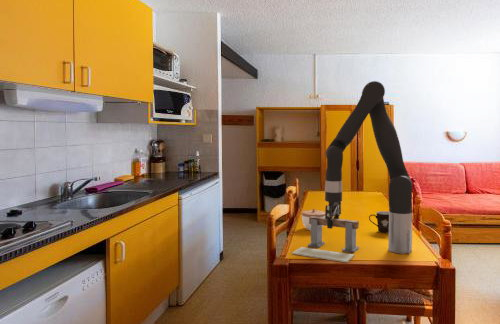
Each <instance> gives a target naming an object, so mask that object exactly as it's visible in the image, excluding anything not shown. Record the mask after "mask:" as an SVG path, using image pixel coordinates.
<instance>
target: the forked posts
mask: <svg viewBox="0 0 500 324" xmlns="http://www.w3.org/2000/svg"><path fill="white" fill-rule="evenodd" d="M344 229H345V234H344V238H345V240H344V243H345V244H344V247H343V248H342V249H341V250H342V251H341V253H348V254H354V253H356V252H357V251H358V250H359V248H360V247H359V246H357V229H353V223H345V228H344ZM324 245H325V241H323V227H322V225H318V220H317V219H311V231H310V243H308V244H307V248H314V247H315V248H314V249H319V248H321V247H322V246H324Z"/></svg>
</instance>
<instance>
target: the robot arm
mask: <svg viewBox="0 0 500 324" xmlns="http://www.w3.org/2000/svg"><path fill="white" fill-rule="evenodd" d="M385 94H386V89H385V86H384V85H383V84H382V82H380V81H377V80H374V81H369V82H368V83H366V84H365V86H364V87H363V89H362V91H361V96H360V97H359V98H360V99H359V100H358V102H357V104H356V106H355V108H354V109H353V111H351V113H350V114H349V116H348V117H347V119H345V122H344V123H343V125H342V126H341V128H339V131H338V132H337V134H336V136H335V137H334V138H333V140H332V141H331V143H330V144H329V145H328V147H327V148H326V150H325V157H326V170H325V184H324V201H325V202H327V203H328V205H327V204H326V205H325V208H324V209H325V211H324V212H325V219H327V229H333V228H334V227H333V218H334V219H340V215H342V201H343V176H342V175H343V173H342V172H343V171H342V169H343V161H344V152H345V149H346V148H347V147H348V146H349V145H350V144H351V143H352V141H353V140H354V139H355V137H356V136H357V134H358V132H359V130H360V128H361V127H362V125H363V124H364V122H365V120H366V119H367V117H368V115H369V118H370V122H371V127H372V131H373V134H374V139H375V142H376V145H377V148H378V152H379V153H380V155H381V157H382V159H383V161H384V163H385V166H386V168H387V172H388V173H387V174H388V177H389V184H388V212H389V233H388V243H387V245H388V251H389V252H391V253H395V254H402V255H403V254H405V253H408V255H409V254H411V252H412V251H413V229H412V218H413V217H412V215H413V214H412V211H413V208H412V207H413V202H412V201H413V200H412V199H413V198H412V197H413V181H412V179H411V177H410V175H409V173H408V170H407V168H406V166H405V162H404V157H403V152H402V147H401V144H400V140H399V137H398V132H397V129H396V127H395V125H394V123H393V121H392V120H391V118H390V115H389V114H388V111H387V109H386V105H385V99H384V97H385ZM411 250H412V251H411Z"/></svg>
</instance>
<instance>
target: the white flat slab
mask: <svg viewBox="0 0 500 324" xmlns="http://www.w3.org/2000/svg"><path fill="white" fill-rule="evenodd" d="M291 254H292V255H295V256H297V255H298V256H303V257H311V258H316V259H322V260H328V261H334V262H341V263H349V261H351V260H352V259H353V258H354V257H355V254H354V253H347V252H338V251H331V250H324V249H319V248H313V247H304V246H301V247H299V248H297V249H296V250H294V251H291Z"/></svg>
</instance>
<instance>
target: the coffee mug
mask: <svg viewBox="0 0 500 324" xmlns="http://www.w3.org/2000/svg"><path fill="white" fill-rule="evenodd" d="M373 216H374V217H375V219H376V222H377V224H376V223H375V222H373V221H372V220H371V217H373ZM368 219H369V221H370V222H371V223H372V224H373V225H375V226H376V227H377V232H378V233H381V234H389V210H388V211H386V210H382V211H376V214H369V216H368Z"/></svg>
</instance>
